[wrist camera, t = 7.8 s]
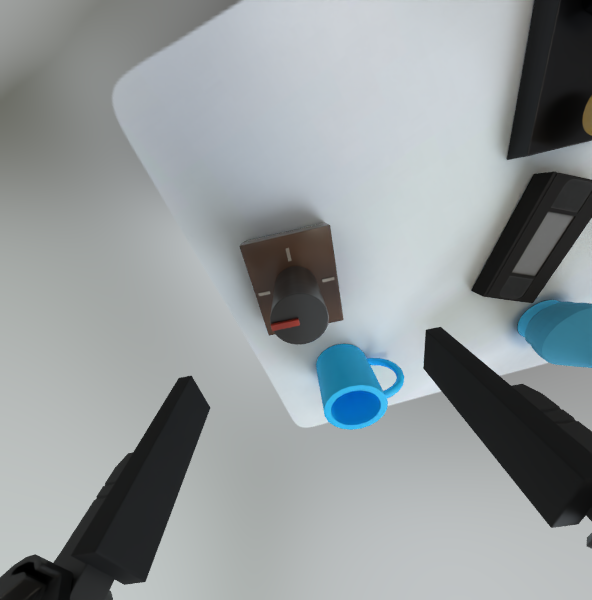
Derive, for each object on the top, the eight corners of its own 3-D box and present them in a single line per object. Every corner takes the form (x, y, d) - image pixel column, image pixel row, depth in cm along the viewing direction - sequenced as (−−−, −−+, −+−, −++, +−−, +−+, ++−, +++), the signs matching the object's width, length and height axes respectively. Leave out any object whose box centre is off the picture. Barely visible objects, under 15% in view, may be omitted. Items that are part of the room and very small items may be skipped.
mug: (322, 387, 36) (331, 434, 29) (310, 350, 33) (317, 393, 26) (391, 371, 35) (419, 415, 28) (387, 332, 32) (417, 370, 25)
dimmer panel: (244, 241, 26) (239, 246, 23) (325, 222, 25) (330, 224, 22) (270, 323, 31) (268, 336, 28) (338, 309, 30) (343, 320, 27)
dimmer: (312, 261, 24) (324, 288, 16) (320, 300, 26) (333, 340, 18) (270, 271, 24) (262, 302, 17) (281, 309, 26) (278, 352, 19)
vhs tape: (590, 185, 24) (614, 184, 23) (518, 297, 30) (532, 303, 29) (533, 173, 24) (554, 171, 22) (470, 290, 30) (482, 296, 28)
